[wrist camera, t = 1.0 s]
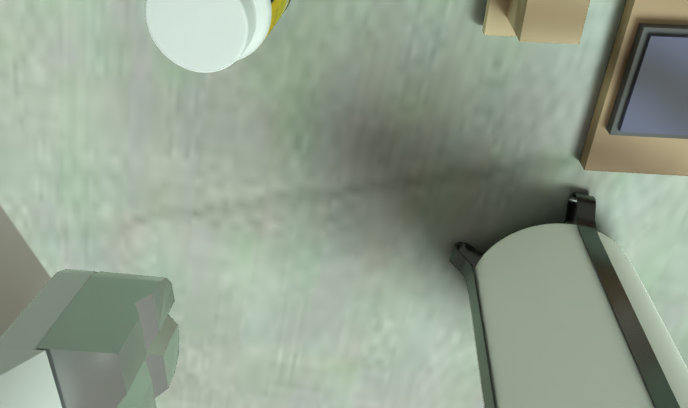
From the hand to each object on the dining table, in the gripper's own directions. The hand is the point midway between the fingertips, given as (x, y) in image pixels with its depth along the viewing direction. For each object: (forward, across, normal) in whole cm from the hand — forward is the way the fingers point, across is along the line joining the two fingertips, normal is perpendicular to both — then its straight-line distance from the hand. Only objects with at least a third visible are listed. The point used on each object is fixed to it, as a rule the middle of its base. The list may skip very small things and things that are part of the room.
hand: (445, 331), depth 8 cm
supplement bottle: (+30, +9, -1) cm, 31 cm away
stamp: (+29, -8, -1) cm, 30 cm away
